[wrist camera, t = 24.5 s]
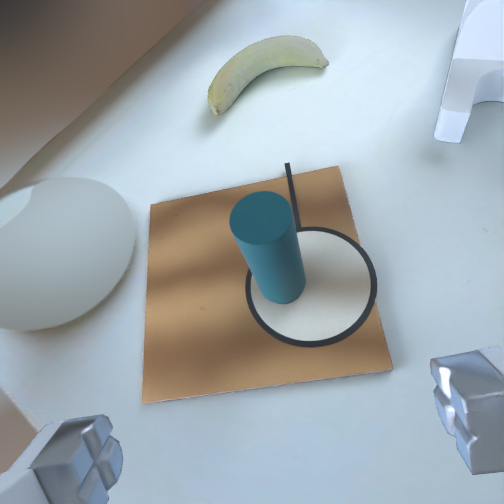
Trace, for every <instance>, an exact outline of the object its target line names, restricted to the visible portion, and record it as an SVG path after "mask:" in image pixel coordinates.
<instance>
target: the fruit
mask: <svg viewBox="0 0 504 504" xmlns="http://www.w3.org/2000/svg"><path fill="white" fill-rule="evenodd" d="M328 65H329V61H328V60H326V58H325V57H324V55H323V53H322V51H321V49H320V48H319V47H318V46H317V45H316V44H315V43H314V42H312V41H311V40H309V39H306V38H302V37H298V36H277V37H271V38H268V39H264V40H261V41H259V42H256V43H254V44H252V45H249V46H248V47H246V48H244V49H243V50H241V51H240V52H239V53H237V54H236V55H235V56H233V57H232V58H231V59H230V60H229V61H228V62H227V63H226V64H225V65H224V66H223V67H222V68H221V69H220V71H219V72H218V73H217V75H216V76H215V78H214V80H213V82H212V83H211V85H210V87H209V89H208V101H209V104H210V107H211V110H212V112H213V114H214V115H220V114H222V113H223V112H224V111H225V110H227V109H228V108H229V107H230V106H231V105H232V103H233V102H234V101H235V100H236V98H237V97H238V95H239V94H240V93H241V91H242V90H243V89H244V88H245V87H246V85H248V84H249V83H250V82H251V81H252V80H253V79H254V78H256V77H257V76H259V75H260V74H262V73H264V72H266V71H268V70H271V69H274V68H278V67H283V66H305V67H319V68H322V69H324V68H326V67H327V66H328Z"/></svg>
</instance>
